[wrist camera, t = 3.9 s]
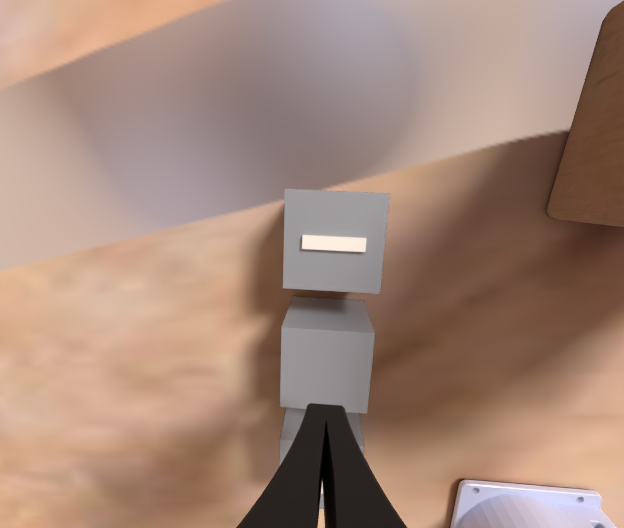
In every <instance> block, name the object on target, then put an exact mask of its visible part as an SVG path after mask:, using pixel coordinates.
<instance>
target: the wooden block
mask: <svg viewBox="0 0 624 528" xmlns="http://www.w3.org/2000/svg"><path fill="white" fill-rule="evenodd" d="M547 215H549V216H551V217H552V218H554V219H558V220H567V221H575V222H584V223H593V224H601V225H610V226H618V227H624V1H622V2H621V3H619V4H618V5H617V6H615V7H613V8H612V9H611V10H610V11H609V13H608V14H607V15H606V17H605V18H604V20H603V22H602V25H601V29H600V32H599V35H598V38H597V42H596V46H595V48H594V52H593V56H592V59H591V62H590V65H589V69H588V72H587V75H586V79H585V82H584V85H583V89H582V92H581V95H580V99H579V102H578V105H577V109H576V112H575V115H574V119H573V122H572V125H571V129H570V132H569V135H568V139H567V142H566V146H565V149H564V152H563V156H562V159H561V162H560V166H559V169H558V172H557V176H556V179H555V182H554V186H553V189H552V192H551V196H550V199H549V202H548V206H547Z"/></svg>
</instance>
